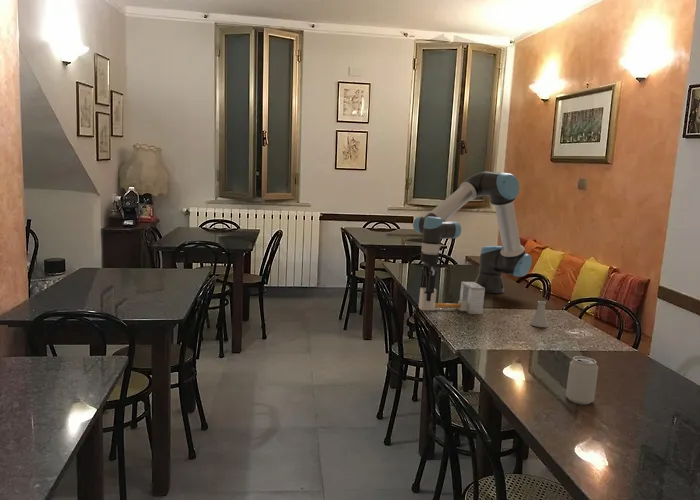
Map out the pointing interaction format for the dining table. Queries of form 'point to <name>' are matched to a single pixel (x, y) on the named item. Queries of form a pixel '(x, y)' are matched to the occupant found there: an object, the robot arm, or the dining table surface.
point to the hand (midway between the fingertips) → (425, 306)
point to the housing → (472, 297)
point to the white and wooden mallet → (461, 305)
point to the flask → (540, 316)
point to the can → (582, 380)
